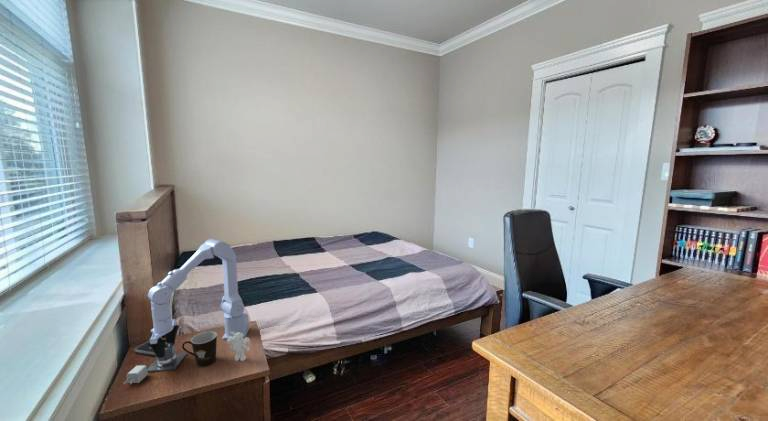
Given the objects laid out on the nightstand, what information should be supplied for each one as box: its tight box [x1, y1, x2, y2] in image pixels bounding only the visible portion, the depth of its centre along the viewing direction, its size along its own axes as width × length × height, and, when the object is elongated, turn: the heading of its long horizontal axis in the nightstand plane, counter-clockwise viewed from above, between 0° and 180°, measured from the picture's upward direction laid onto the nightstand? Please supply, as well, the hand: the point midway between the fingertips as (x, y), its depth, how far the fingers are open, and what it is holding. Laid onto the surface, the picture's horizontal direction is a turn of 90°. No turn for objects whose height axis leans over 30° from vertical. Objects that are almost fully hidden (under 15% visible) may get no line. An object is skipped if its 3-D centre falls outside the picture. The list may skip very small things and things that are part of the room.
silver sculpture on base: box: [147, 348, 188, 373], centre depth 122 cm, size 10×10×6 cm
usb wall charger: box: [123, 364, 149, 385], centre depth 112 cm, size 4×7×4 cm, turn 1°
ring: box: [155, 342, 176, 361], centre depth 122 cm, size 6×6×4 cm
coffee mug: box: [181, 331, 218, 368], centre depth 123 cm, size 12×9×10 cm
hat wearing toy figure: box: [226, 331, 251, 362], centre depth 124 cm, size 9×4×12 cm, turn 81°
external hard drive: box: [134, 340, 156, 358], centre depth 131 cm, size 7×11×2 cm, turn 76°
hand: (166, 351), depth 122 cm, fingers open, 7 cm apart
